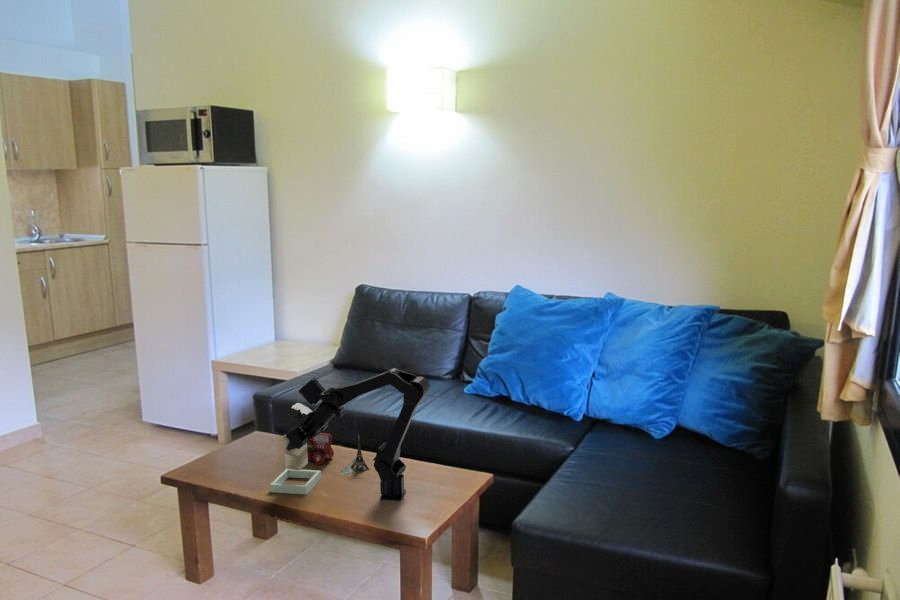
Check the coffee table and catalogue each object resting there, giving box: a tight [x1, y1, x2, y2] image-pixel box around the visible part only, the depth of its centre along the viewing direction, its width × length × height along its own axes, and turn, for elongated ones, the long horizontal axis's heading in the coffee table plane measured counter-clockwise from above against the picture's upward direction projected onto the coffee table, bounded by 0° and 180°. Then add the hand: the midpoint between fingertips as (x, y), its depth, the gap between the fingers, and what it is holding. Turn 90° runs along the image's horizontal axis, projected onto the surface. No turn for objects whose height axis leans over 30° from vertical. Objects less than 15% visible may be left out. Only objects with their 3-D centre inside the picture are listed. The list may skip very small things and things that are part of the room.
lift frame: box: [269, 468, 322, 495], centre depth 214 cm, size 12×12×2 cm
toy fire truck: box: [307, 432, 335, 465], centre depth 234 cm, size 7×12×10 cm, turn 64°
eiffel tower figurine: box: [339, 434, 370, 479], centre depth 226 cm, size 15×10×13 cm
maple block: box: [283, 433, 309, 470], centre depth 212 cm, size 5×6×11 cm
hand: (291, 446), depth 213 cm, fingers closed on maple block, 5 cm apart
